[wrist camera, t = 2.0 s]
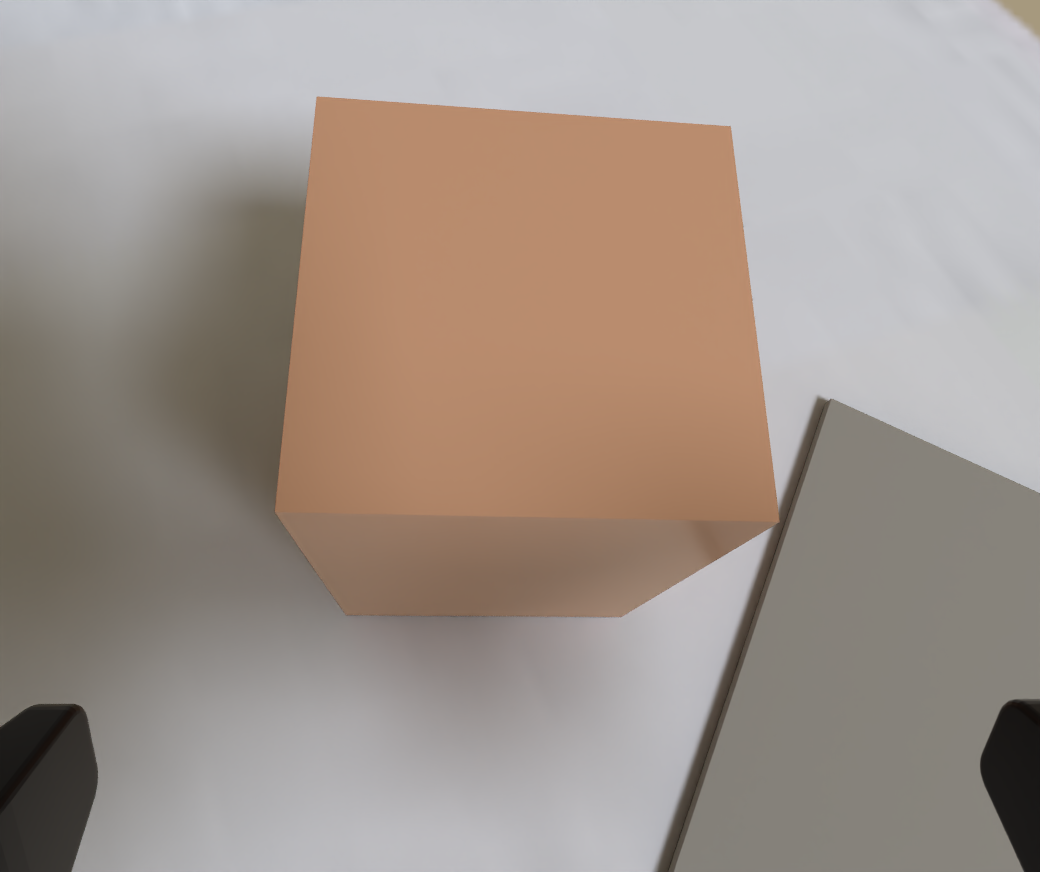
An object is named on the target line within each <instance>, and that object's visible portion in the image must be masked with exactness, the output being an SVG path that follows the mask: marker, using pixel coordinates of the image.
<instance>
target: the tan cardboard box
mask: <svg viewBox="0 0 1040 872" xmlns="http://www.w3.org/2000/svg"><path fill="white" fill-rule="evenodd" d="M275 513H276V515H277V516H278V518H279V519H280V521H281V522H282V524H283V525H284V526H285V528H286V529H287V531H288V532H289V534H290V535H291V537H292V538H293V539H294V541H295V542H296V544H297V545H298V547H299V548H300V550H301V551H302V552H303V554H304V555H305V557H306V558H307V560H308V561H309V563H310V564H311V565H312V567H313V568H314V570H315V571H316V573H317V574H318V576H319V577H320V578H321V580H322V581H323V583H324V584H325V586H326V587H327V589H328V590H329V591H330V593H331V594H332V596H333V597H334V599H335V600H336V602H337V603H338V604H339V606H340V607H341V609H342V610H343V612H344V613H345V615H379V616H533V617H622V616H624V615H625V614H627V613H629V612H630V611H632V610H634V609H635V608H637V607H639V606H640V605H642V604H644V603H645V602H647V601H649V600H650V599H652V598H654V597H655V596H657V595H659V594H660V593H662V592H664V591H665V590H667V589H669V588H670V587H672V586H674V585H675V584H677V583H679V582H680V581H682V580H684V579H685V578H687V577H689V576H690V575H692V574H694V573H695V572H697V571H699V570H700V569H702V568H704V567H705V566H707V565H709V564H711V563H712V562H714V561H716V560H717V559H719V558H721V557H722V556H724V555H726V554H727V553H729V552H731V551H732V550H734V549H736V548H737V547H739V546H741V545H742V544H744V543H746V542H747V541H749V540H751V539H752V538H754V537H756V536H757V535H759V534H761V533H762V532H764V531H766V530H767V529H769V528H771V527H772V526H774V525H776V524H777V523H779V522H780V521H779V513H778V505H777V497H776V488H775V480H774V472H773V464H772V456H771V448H770V440H769V432H768V424H767V416H766V408H765V400H764V391H763V383H762V375H761V367H760V359H759V351H758V343H757V335H756V327H755V319H754V311H753V303H752V295H751V286H750V278H749V270H748V262H747V254H746V246H745V238H744V230H743V222H742V214H741V206H740V198H739V189H738V181H737V173H736V165H735V157H734V149H733V141H732V133H731V126H717V125H703V124H689V123H675V122H662V121H648V120H634V119H620V118H606V117H592V116H579V115H565V114H551V113H537V112H523V111H510V110H496V109H482V108H468V107H454V106H440V105H427V104H413V103H399V102H385V101H371V100H357V99H344V98H330V97H317V99H316V109H315V119H314V129H313V139H312V148H311V158H310V168H309V178H308V188H307V198H306V208H305V218H304V227H303V237H302V247H301V257H300V267H299V277H298V287H297V297H296V306H295V316H294V326H293V336H292V346H291V356H290V366H289V376H288V385H287V395H286V405H285V415H284V425H283V435H282V445H281V455H280V464H279V474H278V484H277V494H276V504H275Z"/></svg>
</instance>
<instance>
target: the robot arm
mask: <svg viewBox="0 0 1040 872" xmlns="http://www.w3.org/2000/svg"><path fill="white" fill-rule="evenodd" d="M980 773H981V777H982V780H983V783H984V786H985V788H986V790H987V792H988V794H989V797H990V799H991V801H992V803H993V805H994V808H995V810H996V812H997V814H998V816H999V819H1000V821H1001V823H1002V825H1003V827H1004V830H1005V832H1006V834H1007V836H1008V838H1009V841H1010V843H1011V845H1012V847H1013V849H1014V851H1015V854H1016V856H1017V858H1018V860H1019V862H1020V865H1021V867H1022V869H1023V871H1024V872H1040V699H1013V700H1010V701H1008V702H1007V703H1005V704H1004V705H1003V706H1002V708H1001V709H1000V711H999V714H998V716H997V718H996V721H995V723H994V726H993V728H992V730H991V733H990V735H989V737H988V740H987V742H986V745H985V747H984V749H983V752H982V754H981V758H980ZM97 783H98V768H97V763H96V758H95V753H94V748H93V743H92V738H91V733H90V728H89V724H88V719H87V715H86V713H85V711H84V709H83V708H82V707H81V706H79V705H76V704H38V705H33V706H31V707H29V708H27V709H25V710H24V711H22V712H21V713H19V714H18V715H17V716H15V717H14V718H12V719H11V720H10V721H8V722H7V723H5V724H4V725H3V726H1V727H0V872H71V871H72V868H73V865H74V862H75V859H76V855H77V852H78V849H79V846H80V843H81V840H82V836H83V833H84V830H85V827H86V824H87V821H88V817H89V814H90V811H91V808H92V805H93V801H94V798H95V794H96V790H97Z"/></svg>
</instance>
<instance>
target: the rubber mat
mask: <svg viewBox="0 0 1040 872" xmlns="http://www.w3.org/2000/svg"><path fill="white" fill-rule="evenodd" d="M1013 699H1040V493H1038V492H1036V491H1034V490H1031V489H1029V488H1027V487H1025V486H1023V485H1020V484H1018V483H1016V482H1014V481H1012V480H1009V479H1007V478H1005V477H1003V476H1001V475H999V474H996V473H994V472H992V471H990V470H988V469H985V468H983V467H981V466H979V465H977V464H974V463H972V462H970V461H968V460H966V459H963V458H961V457H959V456H957V455H955V454H952V453H950V452H948V451H946V450H944V449H941V448H939V447H937V446H935V445H933V444H930V443H928V442H926V441H924V440H922V439H919V438H917V437H915V436H913V435H911V434H908V433H906V432H904V431H902V430H900V429H897V428H895V427H893V426H891V425H889V424H886V423H884V422H882V421H880V420H878V419H875V418H873V417H871V416H869V415H867V414H864V413H862V412H860V411H858V410H856V409H853V408H851V407H849V406H847V405H845V404H842V403H840V402H838V401H836V400H834V399H830V400H829V401H828V402H827V403H826V404H825V406H824V409H823V412H822V415H821V418H820V421H819V424H818V427H817V430H816V433H815V436H814V438H813V441H812V444H811V447H810V450H809V453H808V456H807V459H806V462H805V465H804V468H803V471H802V474H801V477H800V480H799V483H798V486H797V489H796V492H795V495H794V498H793V501H792V504H791V507H790V510H789V513H788V516H787V519H786V522H785V525H784V528H783V531H782V534H781V537H780V540H779V543H778V546H777V549H776V552H775V555H774V558H773V561H772V564H771V567H770V570H769V573H768V576H767V579H766V581H765V584H764V587H763V590H762V593H761V596H760V599H759V602H758V605H757V608H756V611H755V614H754V617H753V620H752V623H751V626H750V629H749V632H748V635H747V638H746V641H745V644H744V647H743V650H742V653H741V656H740V659H739V662H738V665H737V668H736V671H735V674H734V677H733V680H732V683H731V686H730V689H729V692H728V695H727V698H726V701H725V704H724V707H723V710H722V713H721V716H720V719H719V722H718V724H717V727H716V730H715V733H714V736H713V739H712V742H711V745H710V748H709V751H708V754H707V757H706V760H705V763H704V766H703V769H702V772H701V775H700V778H699V781H698V784H697V787H696V790H695V793H694V796H693V799H692V802H691V805H690V808H689V811H688V814H687V817H686V820H685V823H684V826H683V829H682V832H681V835H680V838H679V841H678V844H677V847H676V850H675V853H674V856H673V859H672V862H671V865H670V867H669V870H668V872H1024V871H1023V869H1022V867H1021V865H1020V862H1019V860H1018V858H1017V856H1016V854H1015V851H1014V849H1013V847H1012V845H1011V843H1010V841H1009V838H1008V836H1007V834H1006V832H1005V830H1004V827H1003V825H1002V823H1001V821H1000V819H999V816H998V814H997V812H996V810H995V808H994V805H993V803H992V801H991V799H990V797H989V794H988V792H987V790H986V788H985V786H984V783H983V780H982V777H981V773H980V758H981V754H982V752H983V749H984V747H985V745H986V742H987V740H988V737H989V735H990V733H991V730H992V728H993V726H994V723H995V721H996V718H997V716H998V714H999V711H1000V709H1001V708H1002V706H1003V705H1004V704H1005V703H1007V702H1008V701H1010V700H1013Z"/></svg>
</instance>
